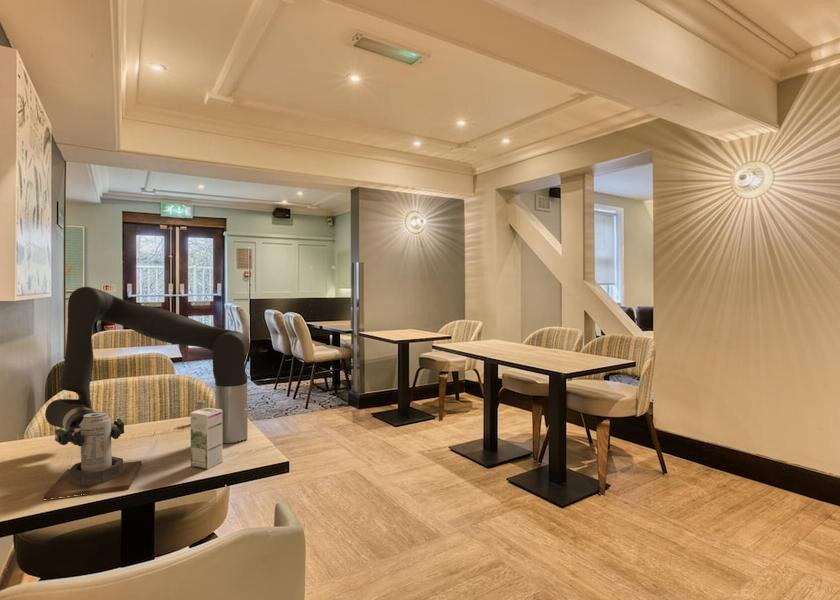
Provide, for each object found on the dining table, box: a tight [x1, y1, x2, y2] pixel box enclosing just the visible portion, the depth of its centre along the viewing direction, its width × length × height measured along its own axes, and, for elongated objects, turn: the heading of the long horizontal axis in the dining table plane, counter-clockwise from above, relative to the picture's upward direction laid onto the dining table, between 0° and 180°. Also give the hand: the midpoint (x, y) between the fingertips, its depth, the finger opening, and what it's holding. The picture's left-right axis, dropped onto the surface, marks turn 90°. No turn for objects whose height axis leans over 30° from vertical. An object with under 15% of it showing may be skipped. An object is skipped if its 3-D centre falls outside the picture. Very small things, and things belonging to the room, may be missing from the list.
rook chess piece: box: [194, 398, 206, 411], centre depth 159 cm, size 4×4×8 cm
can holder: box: [43, 455, 142, 500], centre depth 111 cm, size 16×16×4 cm
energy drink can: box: [80, 411, 113, 471], centre depth 111 cm, size 6×6×15 cm
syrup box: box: [189, 407, 224, 470], centre depth 122 cm, size 6×6×14 cm
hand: (99, 438), depth 109 cm, fingers open, 6 cm apart
